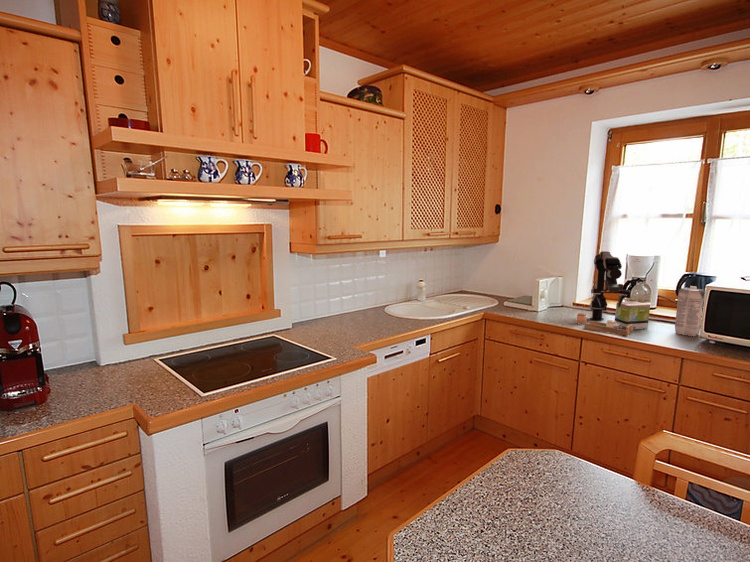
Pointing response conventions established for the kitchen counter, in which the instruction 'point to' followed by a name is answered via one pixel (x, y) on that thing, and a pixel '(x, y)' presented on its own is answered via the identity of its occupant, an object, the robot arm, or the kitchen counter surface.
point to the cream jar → (611, 324)
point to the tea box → (633, 314)
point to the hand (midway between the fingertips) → (609, 307)
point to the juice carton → (689, 311)
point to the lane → (602, 327)
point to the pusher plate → (619, 326)
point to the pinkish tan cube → (581, 318)
